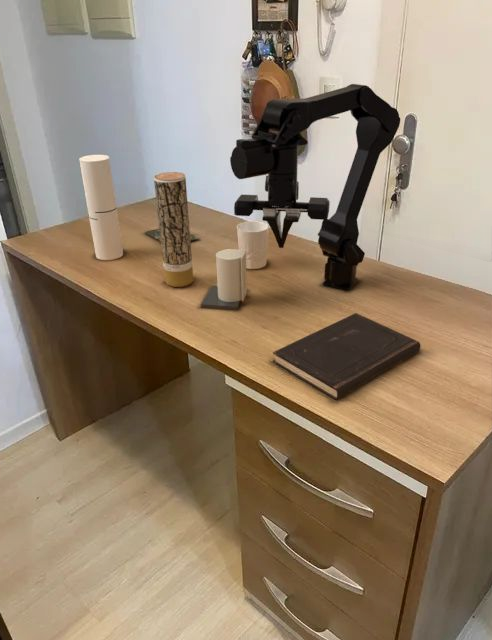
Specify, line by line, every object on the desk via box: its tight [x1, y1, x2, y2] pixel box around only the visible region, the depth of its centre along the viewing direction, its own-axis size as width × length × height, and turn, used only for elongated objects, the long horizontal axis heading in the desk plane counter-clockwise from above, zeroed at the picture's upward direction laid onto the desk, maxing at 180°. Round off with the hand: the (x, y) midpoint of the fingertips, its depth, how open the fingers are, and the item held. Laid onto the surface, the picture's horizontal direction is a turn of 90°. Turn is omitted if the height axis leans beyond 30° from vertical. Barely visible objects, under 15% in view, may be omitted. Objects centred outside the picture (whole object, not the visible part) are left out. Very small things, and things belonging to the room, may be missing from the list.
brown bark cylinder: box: [153, 171, 194, 288], centre depth 127 cm, size 7×7×25 cm
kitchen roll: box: [215, 248, 248, 302], centre depth 122 cm, size 10×6×6 cm
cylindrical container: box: [78, 154, 124, 261], centre depth 142 cm, size 7×7×25 cm
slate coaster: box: [200, 285, 242, 311], centre depth 125 cm, size 8×10×1 cm
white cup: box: [236, 220, 270, 270], centre depth 139 cm, size 8×8×10 cm
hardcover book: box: [272, 312, 422, 400], centre depth 103 cm, size 16×23×2 cm
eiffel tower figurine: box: [144, 228, 198, 242], centre depth 156 cm, size 15×10×13 cm
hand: (281, 247), depth 117 cm, fingers closed
